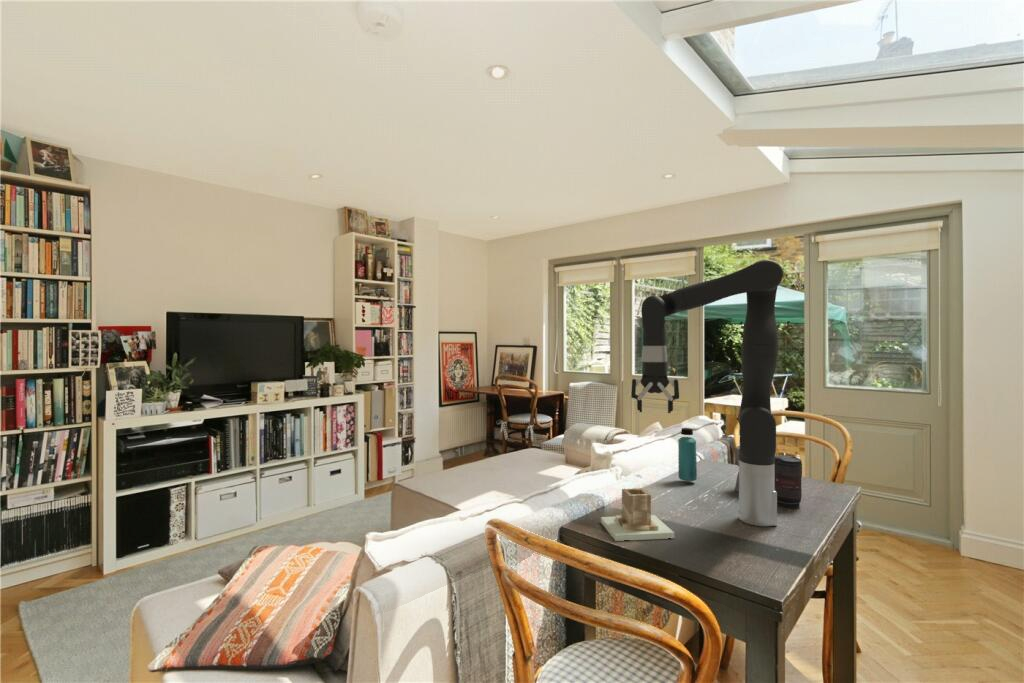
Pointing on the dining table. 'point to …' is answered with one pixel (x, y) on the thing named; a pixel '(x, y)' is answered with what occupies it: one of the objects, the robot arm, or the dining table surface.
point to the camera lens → (788, 481)
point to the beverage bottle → (687, 456)
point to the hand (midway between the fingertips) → (654, 412)
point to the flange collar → (636, 510)
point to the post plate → (621, 534)
